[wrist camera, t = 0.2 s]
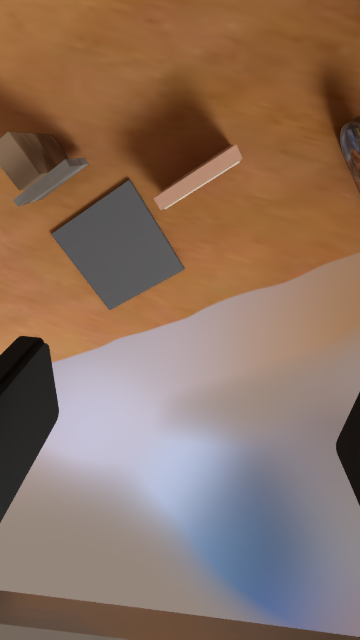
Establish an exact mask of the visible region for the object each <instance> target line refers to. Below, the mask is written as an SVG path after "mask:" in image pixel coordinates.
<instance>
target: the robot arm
mask: <svg viewBox="0 0 360 640" xmlns="http://www.w3.org/2000/svg"><path fill="white" fill-rule="evenodd" d="M58 414H59V407H58V401H57V394H56V388H55V382H54V376H53V369H52V362H51V356H50V349H49V346H48V344H46V343H44V341H43V340H42V339H41V338H37V337H27V336H20V337H18V338H17V339H16V340H15V341H14V342H13V343H12V344H11V345H10V346H9V347H8V348H7V349H6V350H5V351H4V352H3V353H2V354H1V355H0V522H1V520H2V519H3V517H4V515H5V513H6V511H7V510H8V508H9V506H10V504H11V502H12V501H13V499H14V497H15V495H16V493H17V491H18V489H19V488H20V486H21V484H22V482H23V480H24V479H25V477H26V475H27V473H28V472H29V470H30V468H31V466H32V464H33V463H34V461H35V459H36V457H37V455H38V454H39V452H40V450H41V448H42V446H43V445H44V443H45V441H46V439H47V437H48V436H49V434H50V432H51V430H52V428H53V427H54V425H55V423H56V421H57V418H58ZM336 450H337V454H338V456H339V459H340V461H341V463H342V466H343V468H344V470H345V472H346V475H347V477H348V479H349V481H350V484H351V486H352V488H353V491H354V493H355V496H356V498H357V500H358V503H359V505H360V393H359V395H358V397H357V399H356V401H355V403H354V405H353V408H352V410H351V412H350V414H349V416H348V418H347V420H346V423H345V425H344V427H343V429H342V431H341V433H340V435H339V437H338V440H337V442H336ZM0 640H360V637H355V636H348V635H340V634H333V633H326V632H318V631H311V630H304V629H297V628H288V627H281V626H274V625H266V624H259V623H251V622H243V621H235V620H228V619H221V618H213V617H205V616H198V615H189V614H182V613H175V612H167V611H159V610H152V609H144V608H136V607H128V606H120V605H112V604H103V603H96V602H88V601H80V600H72V599H64V598H56V597H48V596H41V595H33V594H24V593H17V592H9V591H0Z"/></svg>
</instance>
